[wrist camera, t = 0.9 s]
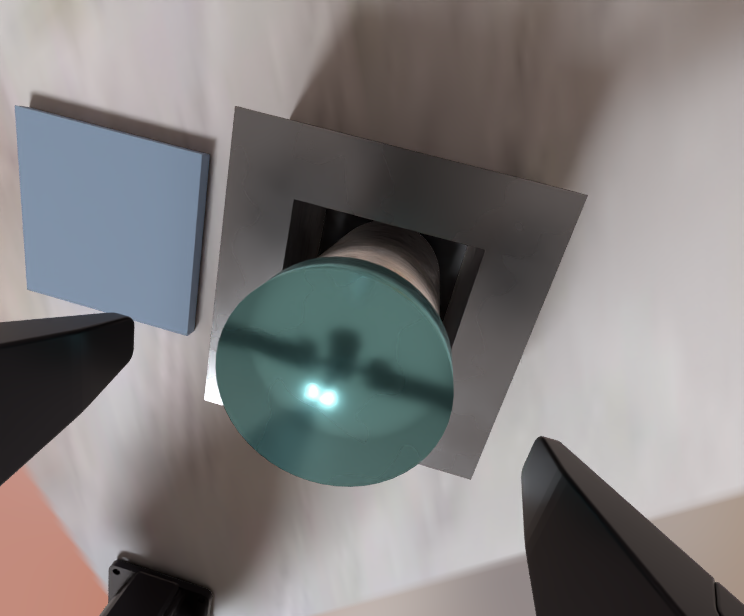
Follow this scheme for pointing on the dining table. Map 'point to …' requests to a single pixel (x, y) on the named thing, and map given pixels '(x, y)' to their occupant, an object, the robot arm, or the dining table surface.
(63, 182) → the mat
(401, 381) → the green lidded jar
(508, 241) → the housing
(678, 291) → the dining table surface
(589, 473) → the robot arm
